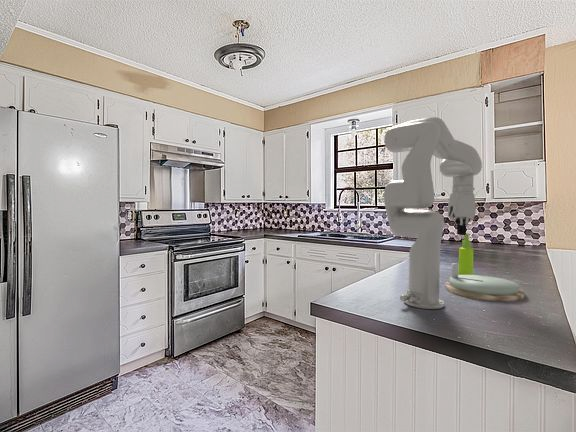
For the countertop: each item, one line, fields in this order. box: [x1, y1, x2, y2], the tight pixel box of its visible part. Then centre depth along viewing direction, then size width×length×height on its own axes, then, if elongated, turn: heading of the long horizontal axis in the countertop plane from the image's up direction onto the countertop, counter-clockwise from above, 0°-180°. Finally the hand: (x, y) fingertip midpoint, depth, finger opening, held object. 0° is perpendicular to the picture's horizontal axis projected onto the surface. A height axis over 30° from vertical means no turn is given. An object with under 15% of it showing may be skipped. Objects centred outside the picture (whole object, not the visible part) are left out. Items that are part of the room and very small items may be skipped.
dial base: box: [444, 280, 526, 303], centre depth 125 cm, size 26×26×2 cm
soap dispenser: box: [458, 232, 475, 275], centre depth 150 cm, size 6×7×20 cm
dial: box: [449, 262, 521, 295], centre depth 125 cm, size 23×23×8 cm
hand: (461, 234), depth 133 cm, fingers closed
